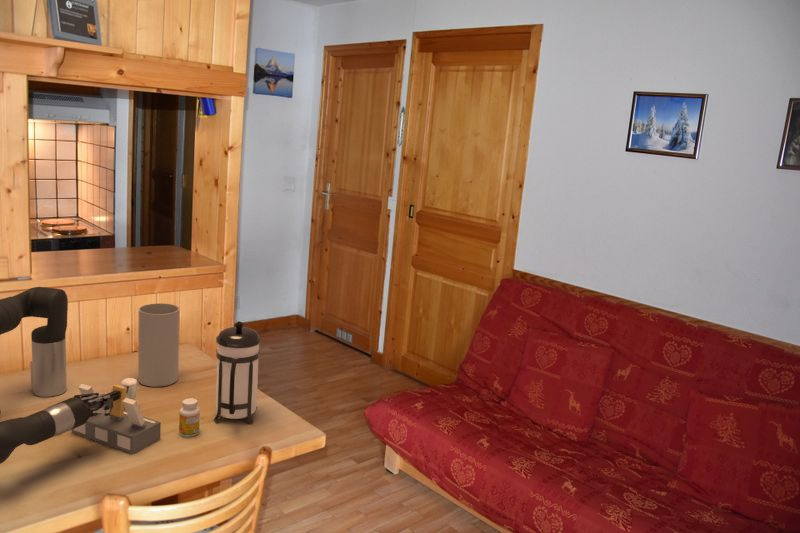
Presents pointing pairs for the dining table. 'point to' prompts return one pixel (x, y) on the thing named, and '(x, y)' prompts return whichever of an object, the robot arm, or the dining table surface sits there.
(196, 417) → the supplement bottle
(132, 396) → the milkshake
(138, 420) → the rocker right
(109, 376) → the dining table surface
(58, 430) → the robot arm
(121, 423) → the strip block
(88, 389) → the rocker left
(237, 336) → the coffee press
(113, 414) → the rocker amber
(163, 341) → the cylinder vase
